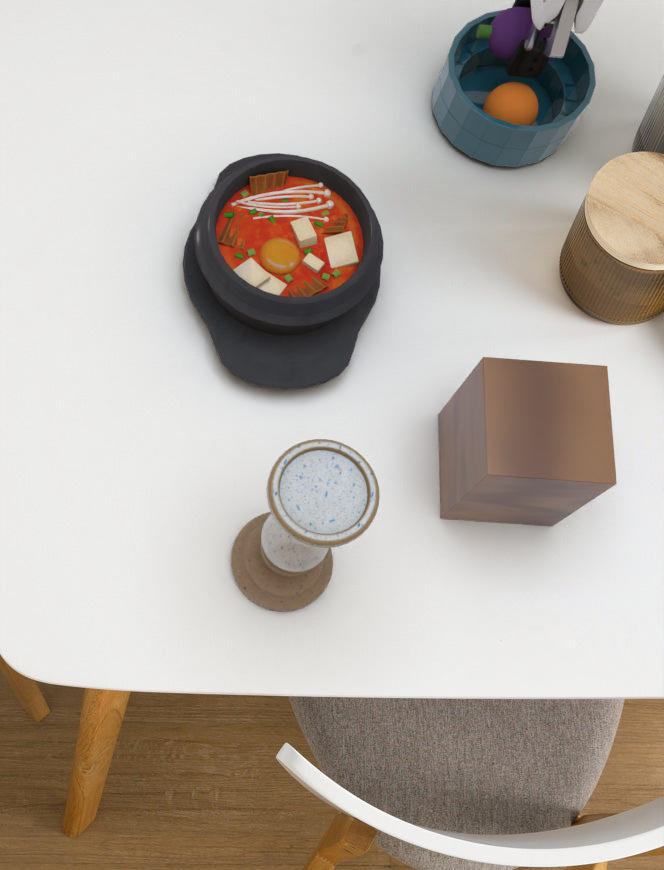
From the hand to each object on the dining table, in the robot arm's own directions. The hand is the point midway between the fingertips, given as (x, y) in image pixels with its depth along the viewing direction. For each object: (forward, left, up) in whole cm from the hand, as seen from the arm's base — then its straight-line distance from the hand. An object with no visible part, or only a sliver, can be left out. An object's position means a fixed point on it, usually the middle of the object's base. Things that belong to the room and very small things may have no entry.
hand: (521, 50), depth 93 cm
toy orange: (0, +4, -6) cm, 7 cm away
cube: (+2, +41, -6) cm, 42 cm away
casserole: (+22, +23, -6) cm, 32 cm away
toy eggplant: (0, 0, 0) cm, 0 cm away
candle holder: (+21, +51, -6) cm, 56 cm away
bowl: (0, +2, -6) cm, 6 cm away
